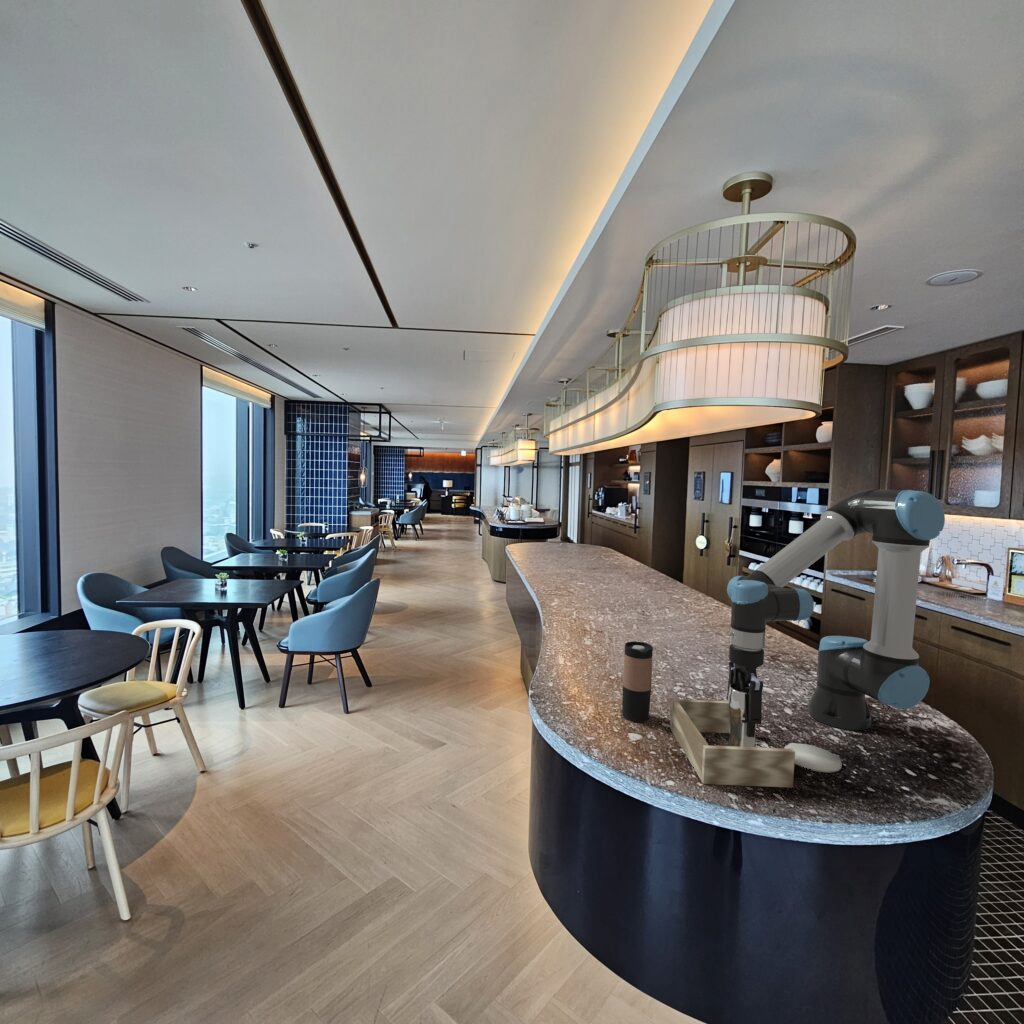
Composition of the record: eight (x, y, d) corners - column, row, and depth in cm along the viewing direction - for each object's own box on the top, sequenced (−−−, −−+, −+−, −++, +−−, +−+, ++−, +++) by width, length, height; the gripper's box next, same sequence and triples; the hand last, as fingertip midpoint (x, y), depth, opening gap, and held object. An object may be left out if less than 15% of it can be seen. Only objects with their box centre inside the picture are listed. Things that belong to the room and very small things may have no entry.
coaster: (822, 746, 132) (823, 744, 132) (853, 773, 120) (853, 771, 120) (774, 744, 132) (774, 742, 132) (799, 771, 120) (800, 768, 120)
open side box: (743, 731, 139) (745, 701, 138) (792, 787, 114) (795, 751, 113) (670, 728, 139) (671, 699, 138) (703, 783, 114) (705, 748, 113)
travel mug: (629, 708, 151) (632, 639, 150) (654, 716, 146) (657, 645, 145) (616, 716, 145) (619, 645, 144) (642, 725, 140) (645, 652, 139)
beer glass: (725, 752, 124) (729, 690, 123) (725, 739, 131) (728, 680, 130) (758, 758, 122) (761, 695, 121) (756, 744, 128) (759, 684, 127)
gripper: (715, 633, 134) (711, 721, 136) (748, 659, 115) (742, 762, 117) (745, 634, 134) (740, 722, 136) (782, 661, 115) (776, 763, 116)
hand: (741, 740), depth 126 cm, fingers closed on beer glass, 6 cm apart
